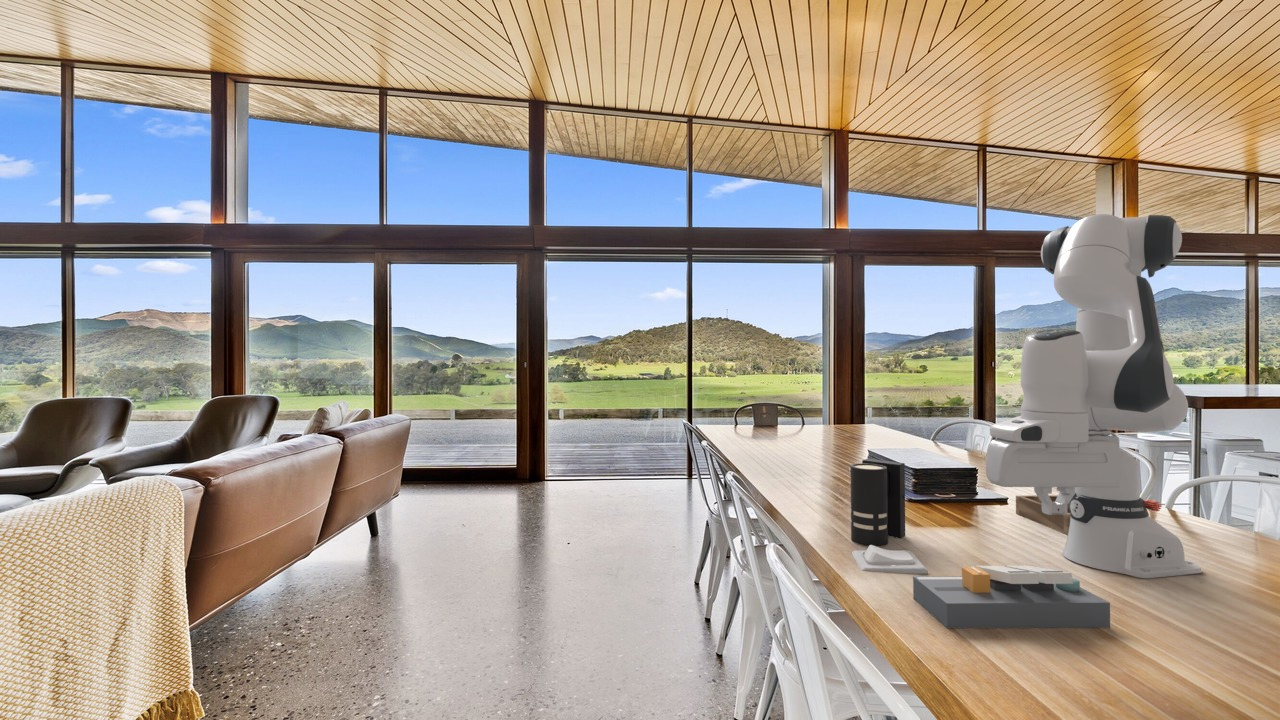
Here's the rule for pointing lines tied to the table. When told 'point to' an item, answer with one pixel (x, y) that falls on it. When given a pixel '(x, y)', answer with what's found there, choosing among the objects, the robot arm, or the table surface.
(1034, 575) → the panel
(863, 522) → the light fixture
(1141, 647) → the table surface
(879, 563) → the light switch
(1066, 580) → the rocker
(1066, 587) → the button
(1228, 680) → the table surface
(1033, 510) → the frame
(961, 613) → the panel
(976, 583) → the slider knob
